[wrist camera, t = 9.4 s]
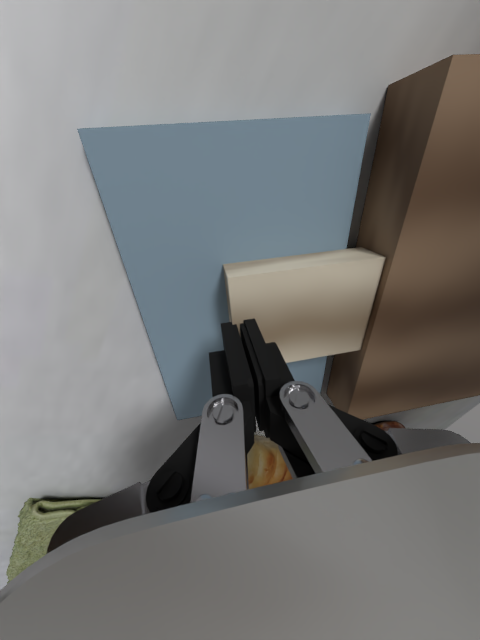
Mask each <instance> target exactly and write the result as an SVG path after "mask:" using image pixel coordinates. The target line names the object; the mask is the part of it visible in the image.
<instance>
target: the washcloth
mask: <svg viewBox="0 0 480 640" xmlns="http://www.w3.org/2000/svg"><path fill="white" fill-rule="evenodd" d="M99 500H102V499H87V500H53V499H36V498H29V499H28V501H27V502H25V503H24V504H25V505H24V507H23V508H22V509H21V511H20V512H19V513H20V515H18V517H20V522H19V523H18V526H19V527H18V534H17V536H16V539H15V541H14V543H15V545H14V547H13V549H12V550H13V552H12V556H11V557H10V564H9V566H8V569H7V574H6V575H7V576H8V579H9V581H8V582H7V584H8V583H9V582H10V581H11V580H13V579H14V578H15V577H16V576H17V575H19V574H20V573H21V572H22V571H24V570H25V569H26V568H27V567H29V566H30V565H32V564H33V563H34V562H36V561H37V560H39V559H40V558H42V557H43V556H44V555H46V553H47V548H48V546H49V543H50V540H51V537H52V536H53V534H54V532H55V531H56V529H57V528H58V526H59V525H60V524H61V523H62V522H63V521H64V520H65V519H66V518H67V517H68V516H70V515H71V514H73V513H74V512H76V511H78V510H80V509H82V508H84V507H86V506H89V505H91V504H93V503H95V502H97V501H99Z"/></svg>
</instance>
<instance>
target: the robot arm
mask: <svg viewBox="0 0 480 640" xmlns="http://www.w3.org/2000/svg"><path fill="white" fill-rule="evenodd" d="M221 331H222V339H223V346H224V350H221V351H215V352H209V362H210V374H211V385H212V398H211V399H210V400H209V401H207V403H206V404H205V406H204V408H203V411H202V418H201V423H200V424H199V425H198V427H197V428H196V429H195V430H194V431H193V432H192V433H191V434H190V435H189V437H188V438H187V439H186V440H185V441H184V442H183V443H182V444H181V445H180V447H179V448H178V449H177V450H176V451H175V452H174V453H173V454H172V455H171V457H170V458H169V459H168V460H167V461H166V462H165V463H164V464H163V466H162V467H161V468H160V469H159V470H158V471H157V472H156V473H155V475H154V476H153V478H152V479H151V480H150V481H148V482H145V483H143V484H141V482H138V483H136V484H134V485H132V486H130V487H128V488H125V489H123V490H121V491H119V492H117V493H115V494H112V495H110V496H108V497H106V498H104V499H102V500H99V501H97V502H95V503H93V504H91V505H89V506H86V507H84V508H82V509H80V510H78V511H76V512H74V513H73V514H71V515H70V516H68V517H67V518H66V519H65V520H64V521H63V522H62V523H61V524H60V525H59V526H58V528H57V529H56V531H55V532H54V534H53V536H52V537H51V540H50V543H49V546H48V548H47V553H46V555H44V556H43V557H42V558H40V559H39V560H37V561H36V562H34V563H33V564H32V565H30V566H29V567H27V568H26V569H25V570H24V571H22V572H21V573H20V574H19V575H17V576H16V577H15V578H14V579H13V580H11V581H10V582H9V583H8V584H7V585H6V586H5V587H4V588H2V589H1V590H0V640H480V443H470V442H469V441H468V440H467V439H465V438H464V437H462V436H461V435H459V434H456V433H454V432H452V431H448V430H442V429H405V428H389V429H388V431H384V430H382V429H381V428H379V427H377V426H375V425H373V424H371V423H368V422H366V421H364V420H362V419H359V418H357V417H355V416H353V415H350V414H348V413H346V412H344V411H341V410H339V409H337V408H335V407H332V406H330V405H328V404H327V403H326V401H325V400H324V399H323V398H322V396H321V395H320V394H319V393H318V391H317V390H316V389H315V388H314V387H313V386H311V385H310V384H308V383H305V382H302V381H295V380H294V378H293V376H292V374H291V372H290V370H289V368H288V366H287V364H286V362H285V360H284V358H283V356H282V354H281V352H280V350H279V348H278V346H277V344H276V343H275V342H271V343H265V341H264V338H263V336H262V334H261V331H260V329H259V327H258V324H257V322H256V320H255V319H247V320H243V323H240V334H239V331H238V328H237V324H234V325H232V322H227V323H221ZM240 336H241V338H240ZM255 416H256V420H257V423H258V427H259V430H260V431H263V430H264V432H265V436H266V438H270V440H271V441H273V442H274V443H276V444H278V448H279V451H280V453H281V455H282V457H283V459H284V461H285V463H286V465H287V468H288V470H289V472H290V474H291V476H292V478H293V479H292V480H287V481H283V482H279V483H274V484H270V485H266V486H261V487H257V488H253V489H249V478H248V457H247V454H248V453H249V451H250V450H251V448H252V446H253V445H254V443H255V442H254V432H256V420H255Z"/></svg>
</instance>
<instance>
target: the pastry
mask: <svg viewBox="0 0 480 640" xmlns="http://www.w3.org/2000/svg"><path fill="white" fill-rule="evenodd" d="M254 442H255V443H254V445H253V446H252V448H251V450H250V451H249V453H248V454H247V457H248V478H249V489H253V488H257V487H261V486H266V485H270V484H274V483H279V482H283V481H287V480H292V479H293V478H292V476H291V474H290V472H289V470H288V468H287V465H286V463H285V461H284V459H283V457H282V455H281V453H280V451H279V448H278V444H276V443H274V442H273V441H271V440H270V438H266V437H264V436H259V435H254Z"/></svg>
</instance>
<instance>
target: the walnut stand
mask: <svg viewBox="0 0 480 640" xmlns="http://www.w3.org/2000/svg"><path fill="white" fill-rule="evenodd" d="M358 247H362V248H365V249H367V250H370V251H372V252H374V253H377V254H379V255H382V256H384V257H386V258H385V262H384V266H383V269H382V273H381V277H380V280H379V284H378V288H377V291H376V295H375V299H374V302H373V306H372V310H371V313H370V317H369V321H368V325H367V328H366V332H365V336H364V339H363V343H362V347H361V350H357V351H352V352H346V353H340V354H334V359H333V364H332V369H331V374H330V379H329V384H328V389H327V395H328V397H329V398H330V400H331V401H332V403H333V405H334V406H335V408H337V409H339V410H341V411H344V412H346V413H348V414H350V415H353V416H355V417H357V418H359V419H367V418H372V417H377V416H381V415H386V414H391V413H396V412H401V411H406V410H410V409H415V408H420V407H425V406H430V405H434V404H439V403H444V402H449V401H454V400H458V399H463V398H468V397H473V396H478V395H480V54H468V55H452V56H450V57H448V58H445V59H443V60H441V61H439V62H437V63H435V64H433V65H431V66H428V67H426V68H424V69H422V70H420V71H418V72H416V73H414V74H411V75H409V76H407V77H405V78H403V79H401V80H399V81H397V82H394V83H392V84H390V85H388V90H387V95H386V100H385V105H384V110H383V115H382V120H381V125H380V130H379V135H378V140H377V145H376V150H375V155H374V160H373V165H372V170H371V175H370V179H369V184H368V189H367V194H366V199H365V204H364V209H363V214H362V219H361V224H360V229H359V234H358V239H357V244H356V248H358Z"/></svg>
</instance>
